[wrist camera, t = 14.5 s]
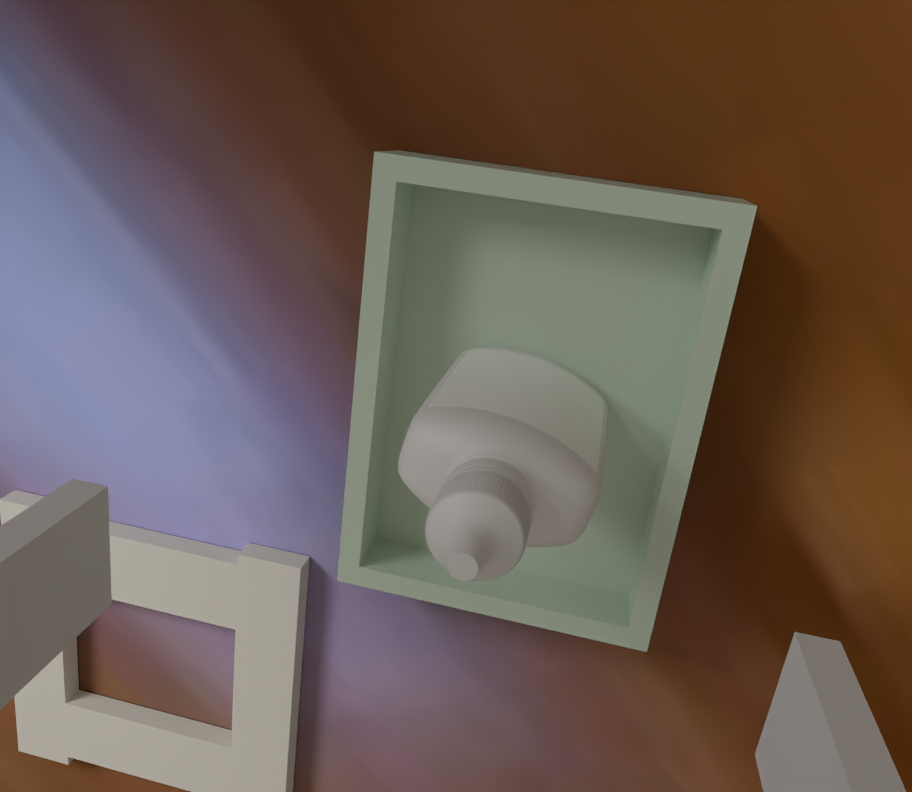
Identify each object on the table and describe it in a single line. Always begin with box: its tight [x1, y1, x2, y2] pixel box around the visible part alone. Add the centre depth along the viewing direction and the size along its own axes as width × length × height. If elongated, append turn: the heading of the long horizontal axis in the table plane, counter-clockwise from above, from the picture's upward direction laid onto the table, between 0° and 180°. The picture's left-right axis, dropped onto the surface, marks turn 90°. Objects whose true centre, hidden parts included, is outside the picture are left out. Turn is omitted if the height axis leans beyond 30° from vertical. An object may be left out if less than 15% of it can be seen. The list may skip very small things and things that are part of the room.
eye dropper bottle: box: [398, 347, 608, 581], centre depth 23 cm, size 4×6×12 cm
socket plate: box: [0, 490, 310, 792], centre depth 36 cm, size 14×14×1 cm
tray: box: [337, 150, 757, 652], centre depth 28 cm, size 12×16×3 cm
